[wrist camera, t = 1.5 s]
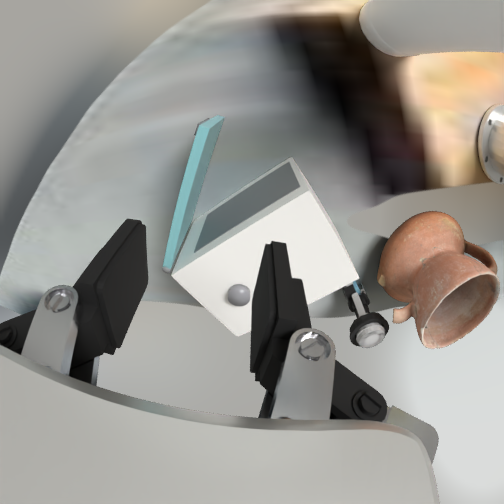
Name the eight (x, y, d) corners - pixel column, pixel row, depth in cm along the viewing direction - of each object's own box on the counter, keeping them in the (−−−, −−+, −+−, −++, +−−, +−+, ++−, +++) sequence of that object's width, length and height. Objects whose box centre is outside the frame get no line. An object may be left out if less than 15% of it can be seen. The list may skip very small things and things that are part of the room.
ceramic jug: (367, 298, 40) (397, 373, 28) (359, 219, 32) (409, 295, 21) (456, 266, 37) (498, 324, 25) (464, 190, 29) (528, 242, 18)
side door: (212, 113, 25) (192, 123, 17) (224, 117, 26) (209, 128, 18) (180, 222, 32) (156, 269, 24) (190, 225, 33) (169, 274, 25)
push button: (327, 278, 38) (343, 332, 29) (360, 262, 36) (384, 312, 28) (343, 306, 41) (358, 357, 32) (373, 291, 39) (394, 340, 31)
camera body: (291, 155, 29) (310, 193, 19) (333, 223, 33) (362, 283, 23) (184, 226, 34) (156, 287, 24) (232, 279, 38) (225, 347, 28)
